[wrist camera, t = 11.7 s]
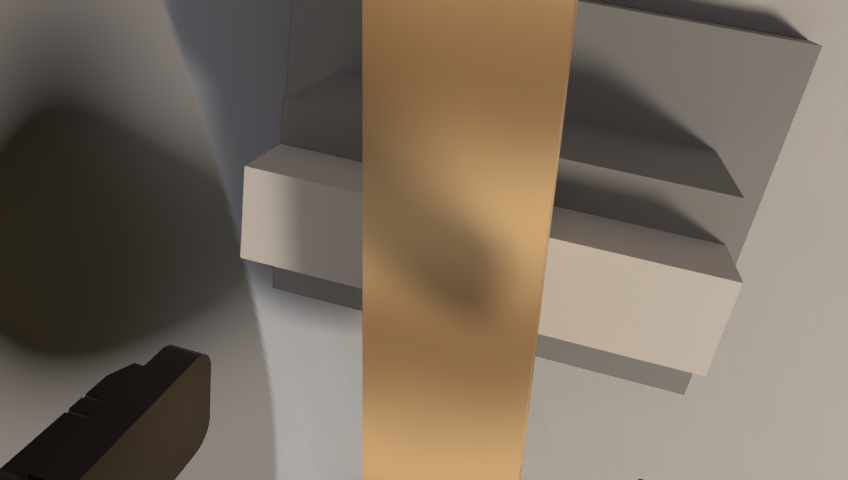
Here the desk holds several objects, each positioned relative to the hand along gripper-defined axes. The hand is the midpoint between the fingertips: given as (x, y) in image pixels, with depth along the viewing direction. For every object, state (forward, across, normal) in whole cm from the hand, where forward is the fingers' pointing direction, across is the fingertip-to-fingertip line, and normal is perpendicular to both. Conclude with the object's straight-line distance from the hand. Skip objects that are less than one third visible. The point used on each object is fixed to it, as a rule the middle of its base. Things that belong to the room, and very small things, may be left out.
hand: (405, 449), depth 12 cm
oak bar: (+8, 0, 0) cm, 8 cm away
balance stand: (+17, 0, 0) cm, 17 cm away
